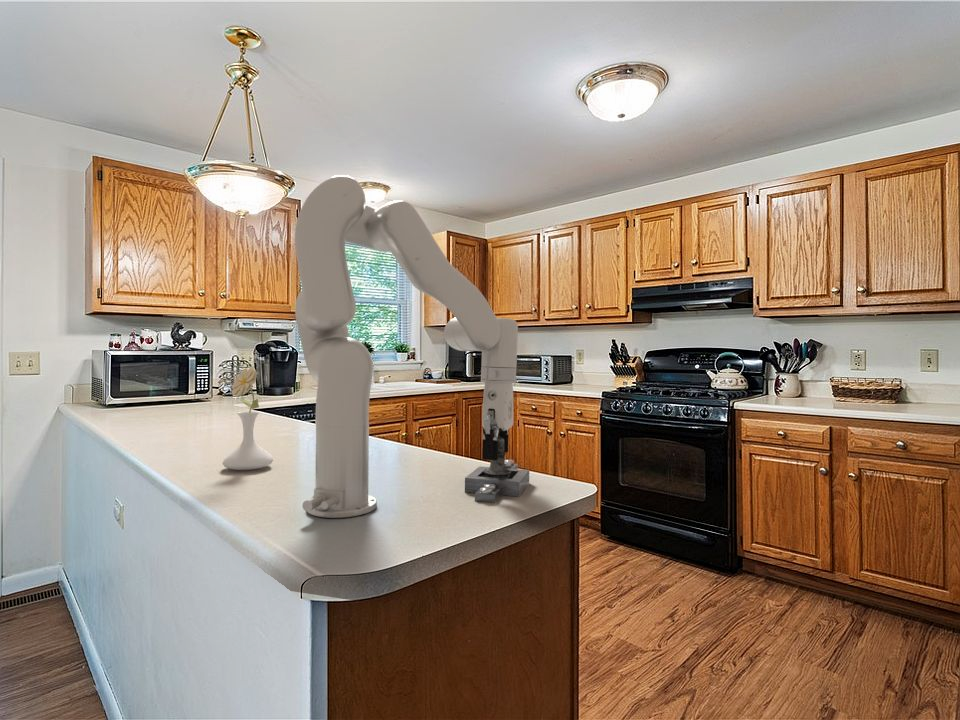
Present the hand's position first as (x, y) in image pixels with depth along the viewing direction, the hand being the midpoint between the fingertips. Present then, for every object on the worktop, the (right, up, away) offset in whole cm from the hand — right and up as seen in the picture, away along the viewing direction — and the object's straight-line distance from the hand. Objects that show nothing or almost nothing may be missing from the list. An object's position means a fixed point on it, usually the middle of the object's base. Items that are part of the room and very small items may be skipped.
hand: (495, 455), depth 115 cm
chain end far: (+1, -7, +3) cm, 8 cm away
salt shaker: (0, -7, 0) cm, 7 cm away
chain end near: (0, -7, -2) cm, 7 cm away
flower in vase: (-60, -6, +15) cm, 62 cm away
